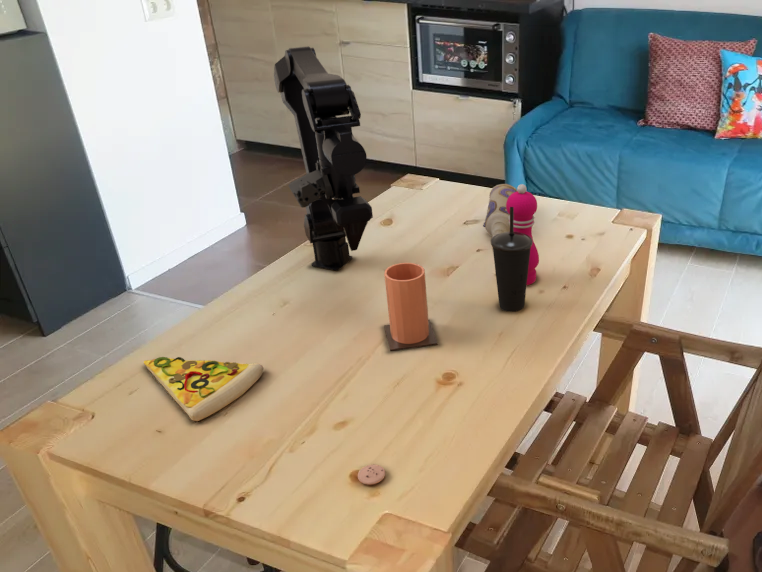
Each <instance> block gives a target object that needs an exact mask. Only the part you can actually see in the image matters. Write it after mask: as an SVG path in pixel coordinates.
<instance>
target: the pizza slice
mask: <svg viewBox="0 0 762 572" xmlns="http://www.w3.org/2000/svg"><path fill="white" fill-rule="evenodd" d="M143 364H144V365H145V366H146V368H147V370H149V372H151V374H152V375H153V376H154V377H155V378H156V380H157V382H159V384H160V385H162V386H163V388H164V390H166V392H167V393H168V394H169V396H171V398H172V399H173V400H174V401H175V402H176V403H177V404H178V405H179V407H180V408H181V409H182V410H183V411H184V412H185V413H186V414H187V416H188V417H189V418H190V420H192V421H194V422H198V421H199V422H200V421H201V420H203V419H205V418H207V417H210V416H212V415H213V414H216V413H218V411H220V410H222V409H224V408H226V407H227V406H228V405H229V404H231V403H233V402H235V400H237V399H238V398H240V397H242V395H244V394H245V393H246V392H247V391H248V390H249V389H250V388H251V387H252V386H253V385H254V384H256V382H257V381H258V380H259V379H260V378H261V376H262V375H263V372H264V370H265V369H264V366H263V364H261V363H258V362H254V363H250V364H249V363H239V362H236V361H235V362H230V361H225V362H224V361H217V360H201V359H199V360H192V359H191V360H190V359H189V360H188V359H184V358H183V357H181V356H177V357H176V358H172V357H166V356H159V357H157V358H153V359H147V360H143Z"/></svg>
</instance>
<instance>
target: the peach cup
mask: <svg viewBox="0 0 762 572" xmlns="http://www.w3.org/2000/svg"><path fill="white" fill-rule="evenodd" d="M383 275H384V285H385V293H386V302H387V311H388V320H389V325H390V331H391V336H392V338H393V339H394V340H395V341H397V342H399V343H403V344H413V343H418V342H421V341H423V340H425V339H426V338H427V337H428V335H429V321H428V320H429V310H428V309H429V308H428V295H427V283H426V282H427V281H426V270H425V268H424V267H423V266H422V265H421V264H418V263H414V262H400V263H394V264H392V265H389V266H388V267H386V269H385V270H384V274H383Z"/></svg>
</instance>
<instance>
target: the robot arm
mask: <svg viewBox="0 0 762 572" xmlns="http://www.w3.org/2000/svg"><path fill="white" fill-rule="evenodd" d="M273 80H274V86H275V89H276V93H278V94H280V97H281V102H282V103H283V104H284V106H285V107H286V108H287V109H288V110H289V112H291V114H292V115H293V118H294V122H295V127H296V131H297V136H298V140H299V141H298V142H299V146H300V150H301V155H302V159H303V164H304V168H305V173H306V174H304V175H302V176H301V177H298V178H297V179H294V180H293V181H291V182H290V183H289V184H288V188H289V190H290V192H291V193H292V195H293V196H294V198H295V199H296V201H297V203H298V204H299V205H298V206H299V207H300V208H305V211H306V214H304V219H303V228H304V233H305V236H306V238H307V239H308V242H309V243H310V244H312V249H313V255H314V261H313V262H312V263H310V264H311V267H313V268H319V269H323V270H324V269H325V270H330V271H333V272H334V271H335V272H338V271H340V270H341V269H342V268H344V266H346V265H348V263H350V262H351V261H352V260H353V259H354V258H353V255H351V254H350V251H351V252H353V251H357V250H358V248H359V246H360V243H361V241H362V238H363V234H364V232H365V230H366V227H367V226H368V223H369V222H370V221H371V219H373V218H374V216H373V207H372V205H370V203H369V202H368V200H366V199H365V198H364V197H362V196H360V195H358V196H354V194H360V193H361V192H360V191H361V190H360V186H359V185H358V184H357V179H356V175H357V174H359V173H360V172H361V171H362V170H363V169H364V168H365V166H366V163H367V152H366V150H365V148H364V146H363V145H362V144H361V143H360V142H359V141H358V140H357V139H356V137H355V136H354V134H353V129H352V128H356V127H361V121H360V119H361V111H360V108H359V107H360V106H359V104H358V101H357V97H356V95H355V92H354V91H353V90H352V86H351V85H350V84H348V83H347V82H346V80H345V78H343V77H342V76H340V74H334V73H329V72H328V71H327V70H326V68H325V67H324V65H323V64H322V63H321V61H320V59H319V58H318V57H317V53H316V49H315V48H314V47H310V45H309V46H308V45H307V46H297V47H296V46H295V47H289V48H288V49H285V51H284V56H283V57H281V58H280V59H279V60H278V61H277V62H275V63H274V66H273ZM338 116H339V117H338Z"/></svg>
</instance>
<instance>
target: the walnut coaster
mask: <svg viewBox="0 0 762 572" xmlns="http://www.w3.org/2000/svg"><path fill="white" fill-rule="evenodd" d="M428 321H429V335H428V337H427V338H426V339H425V340H423V341H421V342H418V343H413V344H403V343H399V342H397V341H395V340H394V339H393V338H392V336H391V331H390V324H384V325H383V327H384V331H385V336H386V340H387V345H388V346H389V352H396V351H402V350H408V349H417V348H423V347H430V346H437V345H438V340H437V338H436V334H435V331H434V328H433V326H432V323H431V321H430V319H428Z"/></svg>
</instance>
